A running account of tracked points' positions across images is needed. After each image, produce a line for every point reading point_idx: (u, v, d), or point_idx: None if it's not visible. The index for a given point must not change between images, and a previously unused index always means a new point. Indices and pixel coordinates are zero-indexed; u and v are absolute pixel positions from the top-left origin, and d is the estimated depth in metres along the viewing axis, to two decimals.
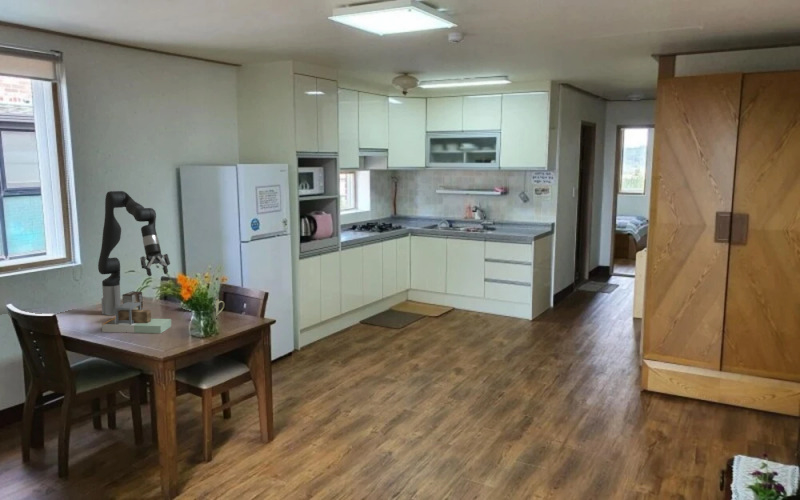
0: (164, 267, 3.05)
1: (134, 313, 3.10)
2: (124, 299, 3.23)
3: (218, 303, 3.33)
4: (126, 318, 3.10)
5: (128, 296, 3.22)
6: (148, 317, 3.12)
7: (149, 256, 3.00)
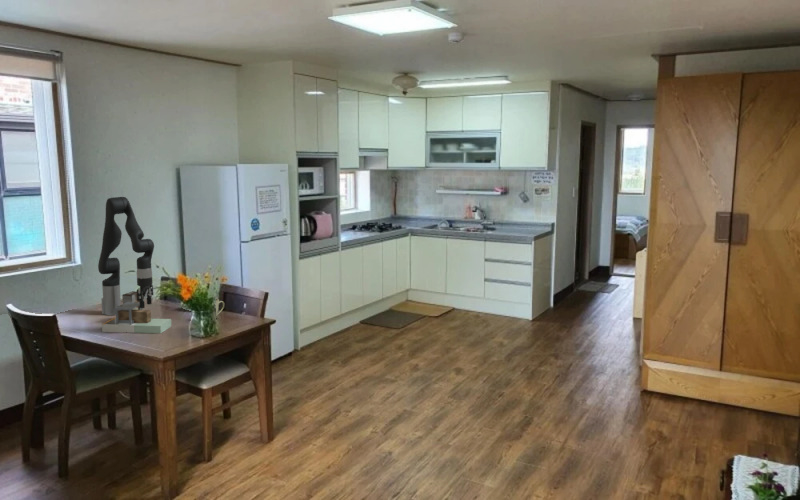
0: (149, 298, 3.15)
1: (134, 313, 3.10)
2: (124, 299, 3.23)
3: (218, 303, 3.33)
4: (126, 318, 3.10)
5: (128, 296, 3.22)
6: (148, 317, 3.12)
7: (144, 289, 3.07)
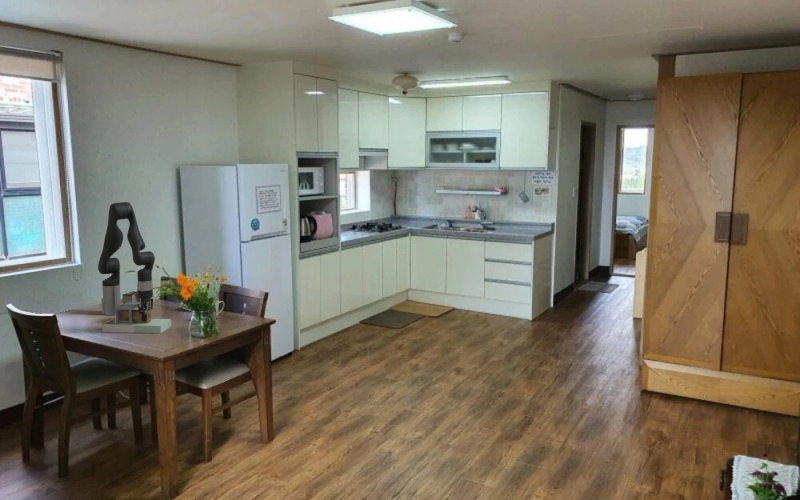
0: None
1: (134, 313, 3.10)
2: (124, 299, 3.23)
3: (218, 303, 3.33)
4: (126, 318, 3.10)
5: (128, 296, 3.22)
6: (148, 317, 3.12)
7: (145, 301, 3.08)
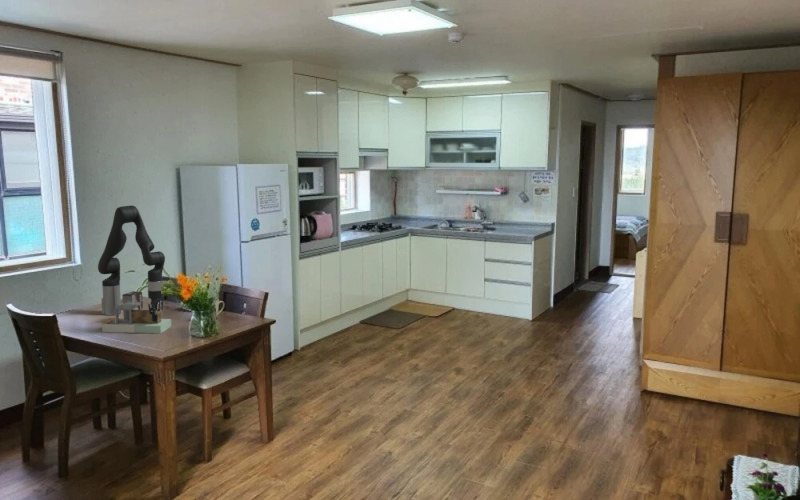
0: None
1: (144, 313, 3.10)
2: (124, 299, 3.23)
3: (218, 303, 3.33)
4: (136, 318, 3.10)
5: (128, 296, 3.22)
6: (158, 317, 3.11)
7: (155, 301, 3.08)
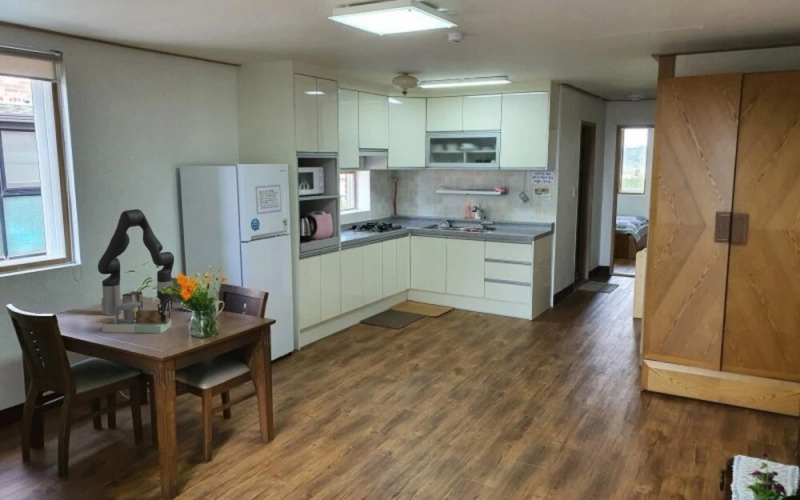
0: None
1: (153, 314, 3.10)
2: (124, 299, 3.23)
3: (218, 303, 3.33)
4: (145, 319, 3.10)
5: (128, 296, 3.22)
6: (167, 318, 3.12)
7: (164, 302, 3.08)
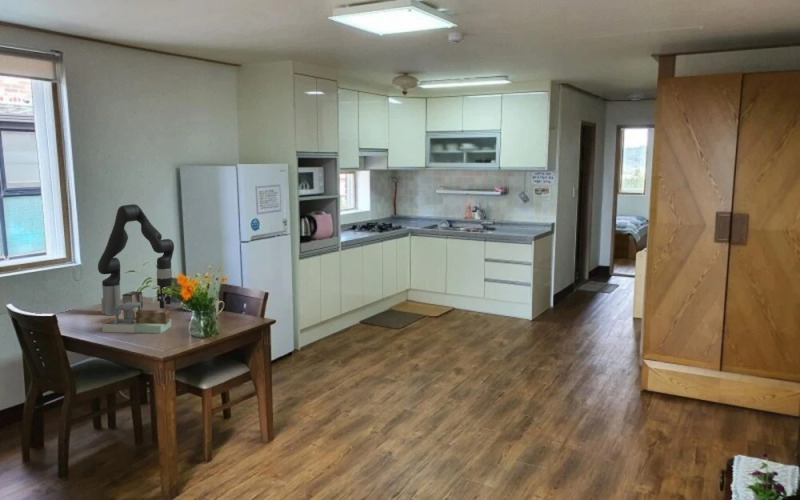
0: (169, 298, 3.15)
1: (153, 314, 3.10)
2: (124, 299, 3.23)
3: (218, 303, 3.33)
4: (145, 319, 3.10)
5: (128, 296, 3.22)
6: (167, 318, 3.12)
7: None
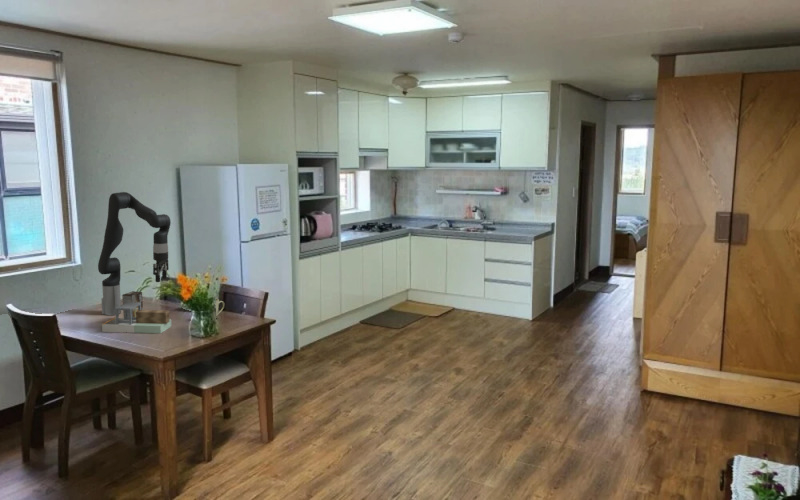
0: (165, 272, 3.21)
1: (153, 314, 3.10)
2: (124, 299, 3.23)
3: (218, 303, 3.33)
4: (145, 319, 3.10)
5: (128, 296, 3.22)
6: (167, 318, 3.12)
7: (160, 263, 3.13)
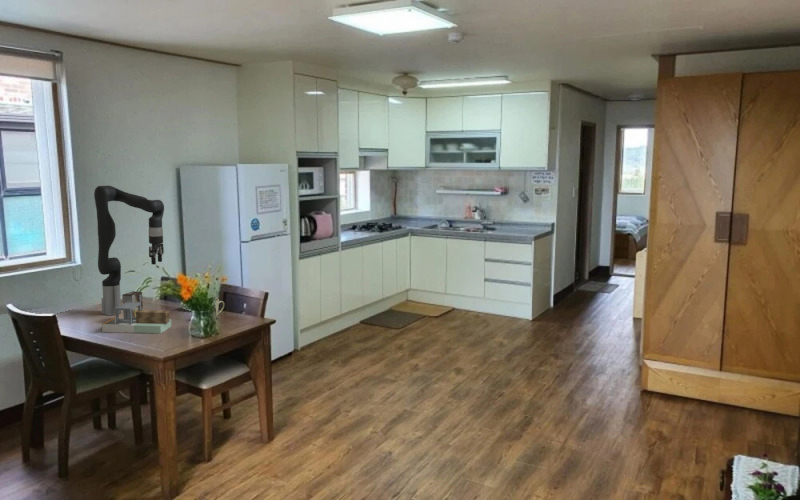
0: (160, 256, 3.36)
1: (153, 314, 3.10)
2: (124, 299, 3.23)
3: (218, 303, 3.33)
4: (145, 319, 3.10)
5: (128, 296, 3.22)
6: (167, 318, 3.12)
7: (155, 246, 3.28)
